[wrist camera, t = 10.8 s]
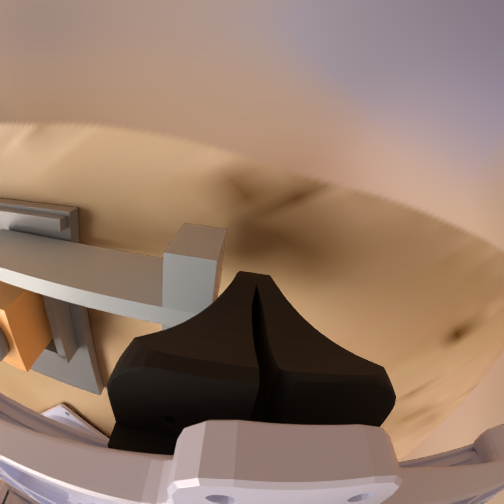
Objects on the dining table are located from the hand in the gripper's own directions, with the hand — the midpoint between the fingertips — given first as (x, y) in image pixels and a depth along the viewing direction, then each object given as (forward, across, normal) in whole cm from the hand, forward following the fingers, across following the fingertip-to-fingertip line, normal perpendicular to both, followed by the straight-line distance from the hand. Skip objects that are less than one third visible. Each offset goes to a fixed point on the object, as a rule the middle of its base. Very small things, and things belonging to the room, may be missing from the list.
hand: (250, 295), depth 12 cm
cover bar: (+1, +8, -1) cm, 8 cm away
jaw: (+2, +13, +4) cm, 13 cm away
